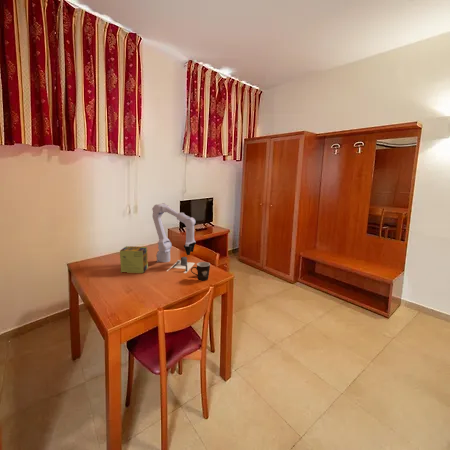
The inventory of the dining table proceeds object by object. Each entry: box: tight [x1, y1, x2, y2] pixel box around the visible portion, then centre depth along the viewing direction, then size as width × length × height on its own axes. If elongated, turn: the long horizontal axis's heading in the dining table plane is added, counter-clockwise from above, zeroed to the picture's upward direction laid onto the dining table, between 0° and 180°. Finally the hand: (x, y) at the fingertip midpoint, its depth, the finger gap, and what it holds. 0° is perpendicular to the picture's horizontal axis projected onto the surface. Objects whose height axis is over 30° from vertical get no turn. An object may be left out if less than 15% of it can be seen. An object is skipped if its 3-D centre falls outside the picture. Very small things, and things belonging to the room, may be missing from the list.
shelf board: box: [166, 261, 196, 274], centre depth 179 cm, size 14×20×2 cm
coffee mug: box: [190, 261, 211, 282], centre depth 163 cm, size 12×9×10 cm
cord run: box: [172, 259, 181, 269], centre depth 183 cm, size 2×12×2 cm, turn 169°
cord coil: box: [180, 256, 188, 265], centre depth 183 cm, size 5×5×5 cm
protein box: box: [119, 245, 149, 274], centre depth 174 cm, size 10×15×16 cm
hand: (190, 253), depth 183 cm, fingers open, 7 cm apart
